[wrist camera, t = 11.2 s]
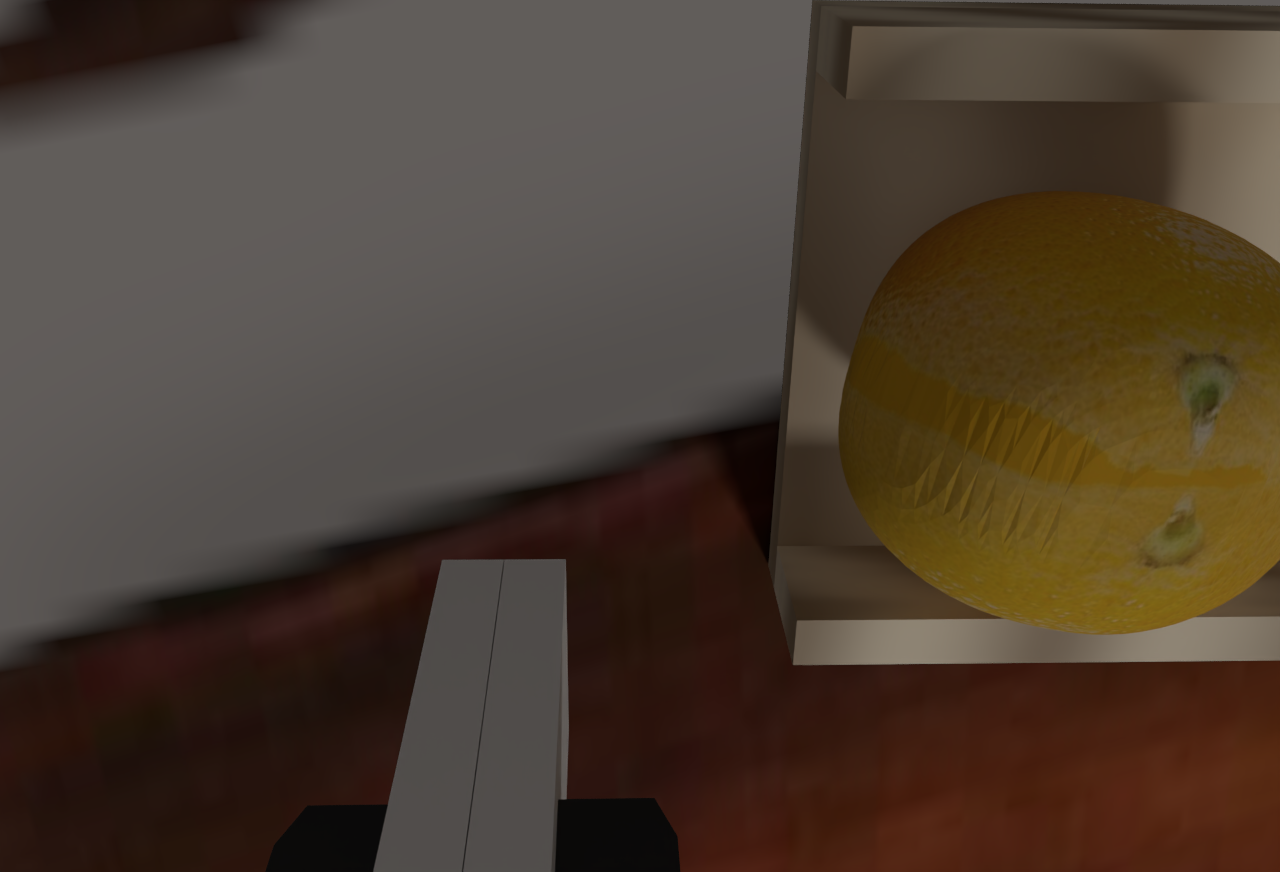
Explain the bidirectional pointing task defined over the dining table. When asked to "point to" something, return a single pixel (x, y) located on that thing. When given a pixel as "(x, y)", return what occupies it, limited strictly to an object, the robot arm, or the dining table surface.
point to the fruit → (1072, 412)
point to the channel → (958, 179)
